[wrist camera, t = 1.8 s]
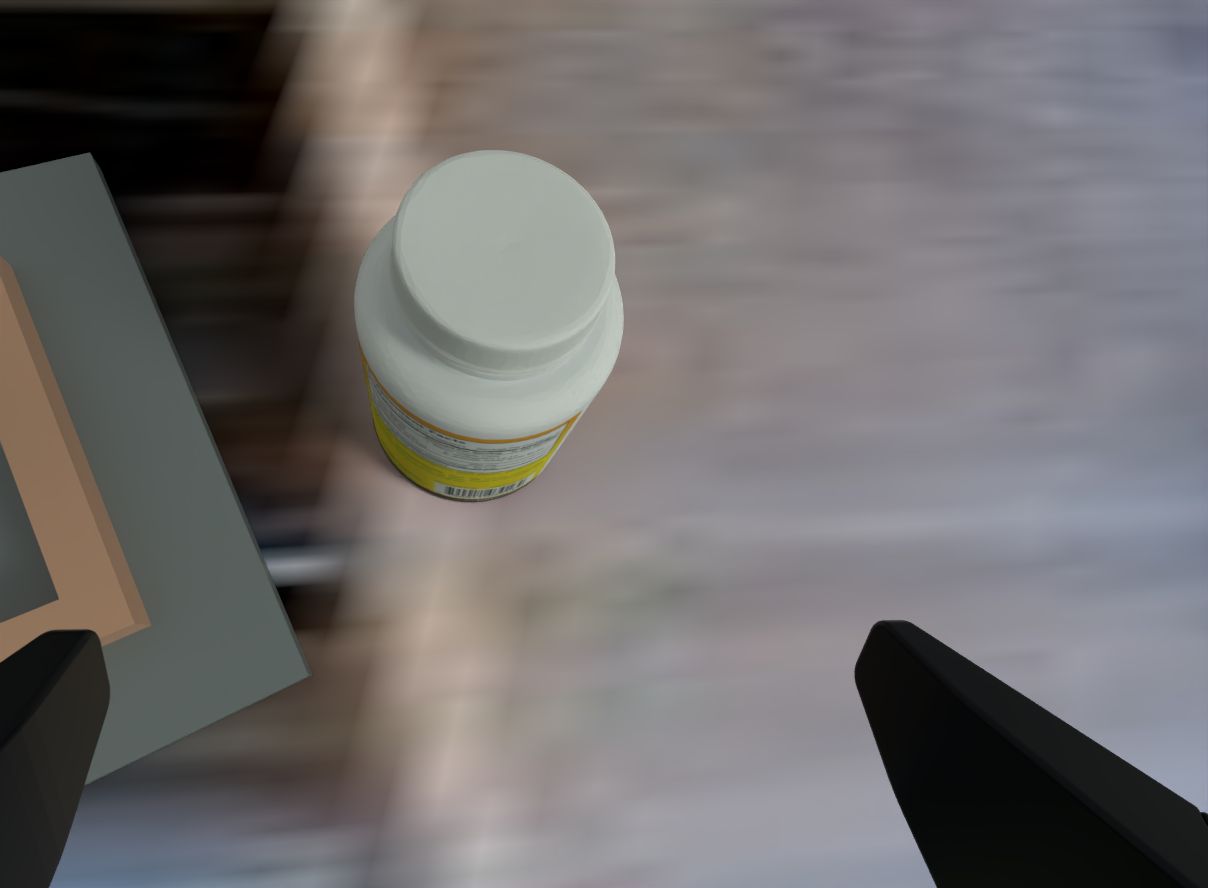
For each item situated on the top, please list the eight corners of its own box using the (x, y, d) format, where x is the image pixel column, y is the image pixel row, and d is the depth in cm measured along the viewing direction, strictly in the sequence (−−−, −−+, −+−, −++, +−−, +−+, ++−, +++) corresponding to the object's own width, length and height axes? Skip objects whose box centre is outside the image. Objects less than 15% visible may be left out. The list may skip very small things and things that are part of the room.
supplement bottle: (469, 300, 24) (508, 57, 14) (594, 422, 23) (719, 262, 14) (331, 413, 22) (265, 220, 12) (466, 547, 21) (511, 462, 12)
